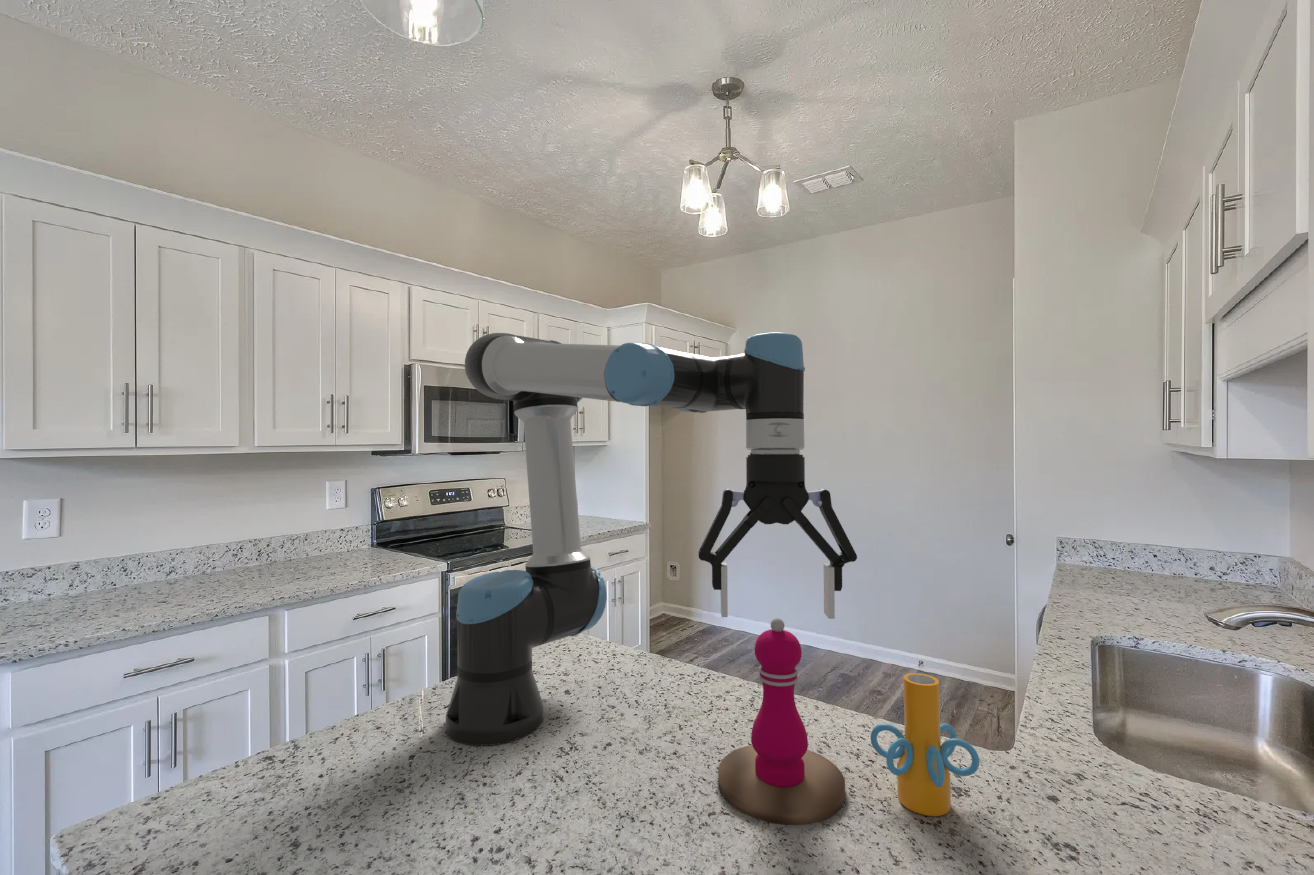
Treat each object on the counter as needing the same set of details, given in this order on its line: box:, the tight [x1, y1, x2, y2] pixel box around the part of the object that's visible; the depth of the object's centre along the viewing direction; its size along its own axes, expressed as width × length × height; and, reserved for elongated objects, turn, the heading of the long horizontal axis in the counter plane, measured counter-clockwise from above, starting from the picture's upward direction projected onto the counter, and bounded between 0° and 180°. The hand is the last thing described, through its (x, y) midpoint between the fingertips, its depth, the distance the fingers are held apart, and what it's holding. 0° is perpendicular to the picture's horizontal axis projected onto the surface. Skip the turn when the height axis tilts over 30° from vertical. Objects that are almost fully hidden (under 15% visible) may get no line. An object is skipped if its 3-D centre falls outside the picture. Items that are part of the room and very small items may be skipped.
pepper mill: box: [750, 617, 809, 787], centre depth 76 cm, size 7×7×20 cm
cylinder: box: [870, 672, 980, 817], centre depth 72 cm, size 12×10×15 cm
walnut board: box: [717, 744, 846, 826], centre depth 76 cm, size 16×16×2 cm
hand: (776, 615), depth 77 cm, fingers open, 13 cm apart
